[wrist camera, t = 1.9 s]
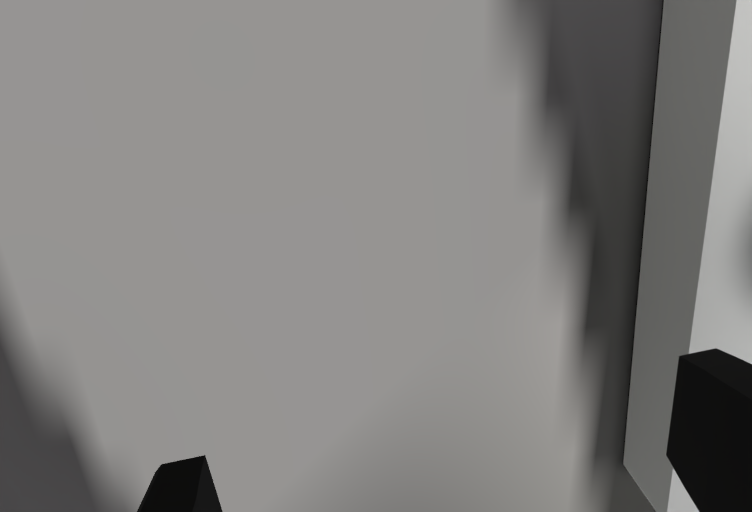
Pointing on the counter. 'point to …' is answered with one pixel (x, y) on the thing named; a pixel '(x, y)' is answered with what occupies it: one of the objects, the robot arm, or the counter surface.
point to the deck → (692, 225)
